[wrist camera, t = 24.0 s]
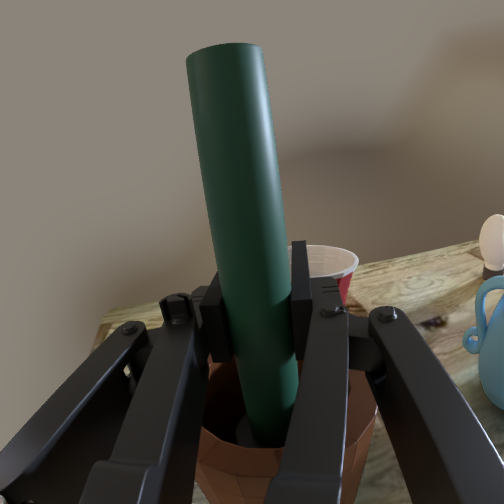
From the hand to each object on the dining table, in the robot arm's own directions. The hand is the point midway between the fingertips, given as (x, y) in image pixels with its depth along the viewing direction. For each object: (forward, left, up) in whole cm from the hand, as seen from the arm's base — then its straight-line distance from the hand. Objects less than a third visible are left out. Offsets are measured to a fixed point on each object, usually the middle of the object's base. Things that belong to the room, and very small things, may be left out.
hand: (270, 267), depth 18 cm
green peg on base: (0, -6, -12) cm, 13 cm away
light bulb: (+35, +27, -17) cm, 47 cm away
